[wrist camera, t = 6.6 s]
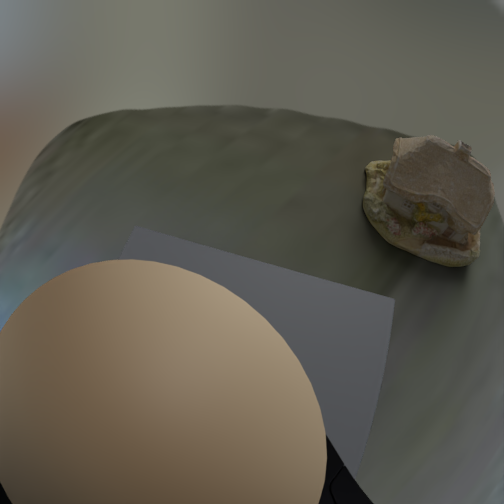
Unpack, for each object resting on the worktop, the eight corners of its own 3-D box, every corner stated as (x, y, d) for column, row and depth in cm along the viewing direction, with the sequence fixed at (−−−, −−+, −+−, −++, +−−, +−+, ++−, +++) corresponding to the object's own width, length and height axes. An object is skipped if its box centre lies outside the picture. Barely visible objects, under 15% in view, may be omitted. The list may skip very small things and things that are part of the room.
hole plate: (311, 542, 14) (321, 560, 11) (66, 460, 16) (44, 465, 13) (378, 310, 23) (396, 298, 20) (145, 243, 25) (134, 224, 22)
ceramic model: (341, 220, 27) (380, 140, 18) (372, 149, 31) (402, 79, 22) (462, 289, 24) (531, 240, 15) (472, 208, 28) (519, 154, 20)
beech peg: (211, 468, 13) (140, 624, 1) (147, 402, 14) (-50, 383, 3) (279, 408, 15) (403, 444, 3) (214, 344, 16) (145, 197, 4)
